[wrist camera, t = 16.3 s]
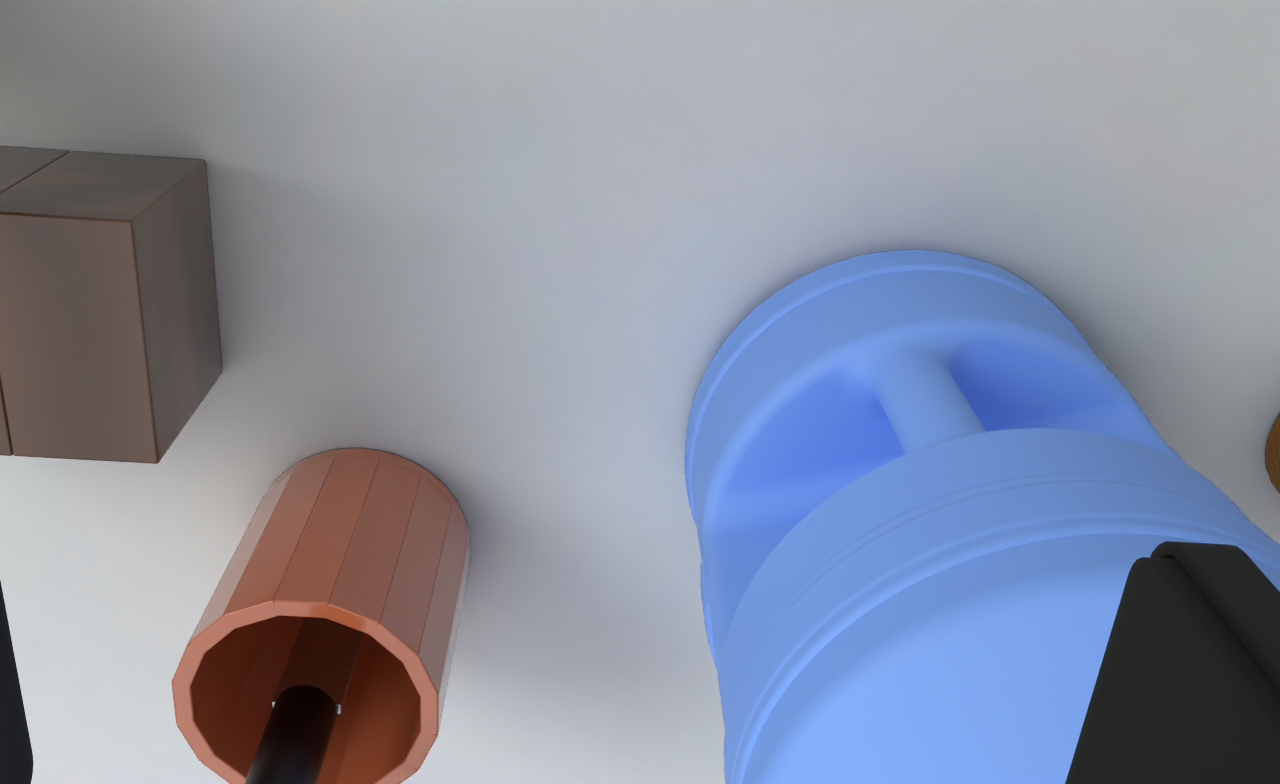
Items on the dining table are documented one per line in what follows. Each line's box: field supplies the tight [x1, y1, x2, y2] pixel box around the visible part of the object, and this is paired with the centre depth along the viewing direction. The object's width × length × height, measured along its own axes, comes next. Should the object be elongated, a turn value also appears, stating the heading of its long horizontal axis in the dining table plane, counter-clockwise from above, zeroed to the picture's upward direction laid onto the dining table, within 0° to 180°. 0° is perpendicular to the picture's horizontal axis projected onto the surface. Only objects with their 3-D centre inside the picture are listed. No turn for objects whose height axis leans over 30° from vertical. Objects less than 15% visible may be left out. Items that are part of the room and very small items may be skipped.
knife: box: [244, 617, 365, 784], centre depth 39 cm, size 2×2×16 cm
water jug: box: [685, 250, 1280, 784], centre depth 33 cm, size 16×16×28 cm
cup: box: [172, 448, 470, 784], centre depth 43 cm, size 8×8×10 cm
